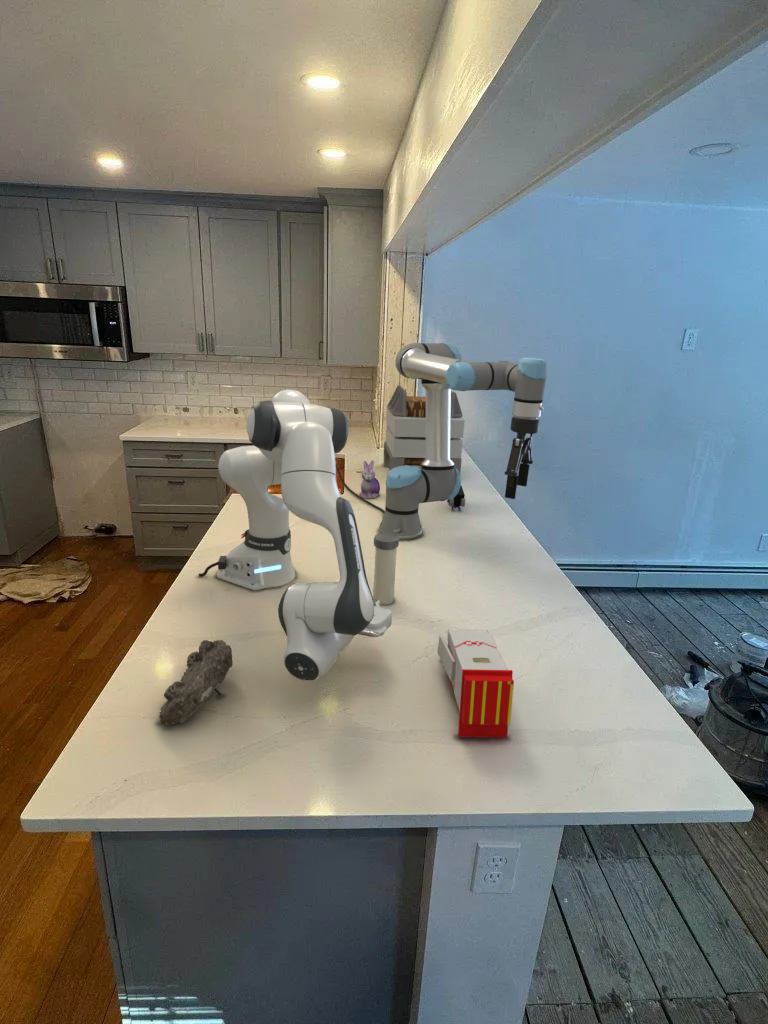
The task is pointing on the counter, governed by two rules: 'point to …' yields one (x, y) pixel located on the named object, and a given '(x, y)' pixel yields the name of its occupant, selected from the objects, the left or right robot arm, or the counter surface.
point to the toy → (478, 682)
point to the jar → (384, 575)
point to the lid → (386, 541)
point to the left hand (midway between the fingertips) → (358, 599)
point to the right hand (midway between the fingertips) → (516, 491)
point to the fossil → (197, 681)
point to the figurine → (369, 482)
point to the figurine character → (457, 500)
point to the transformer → (416, 430)
